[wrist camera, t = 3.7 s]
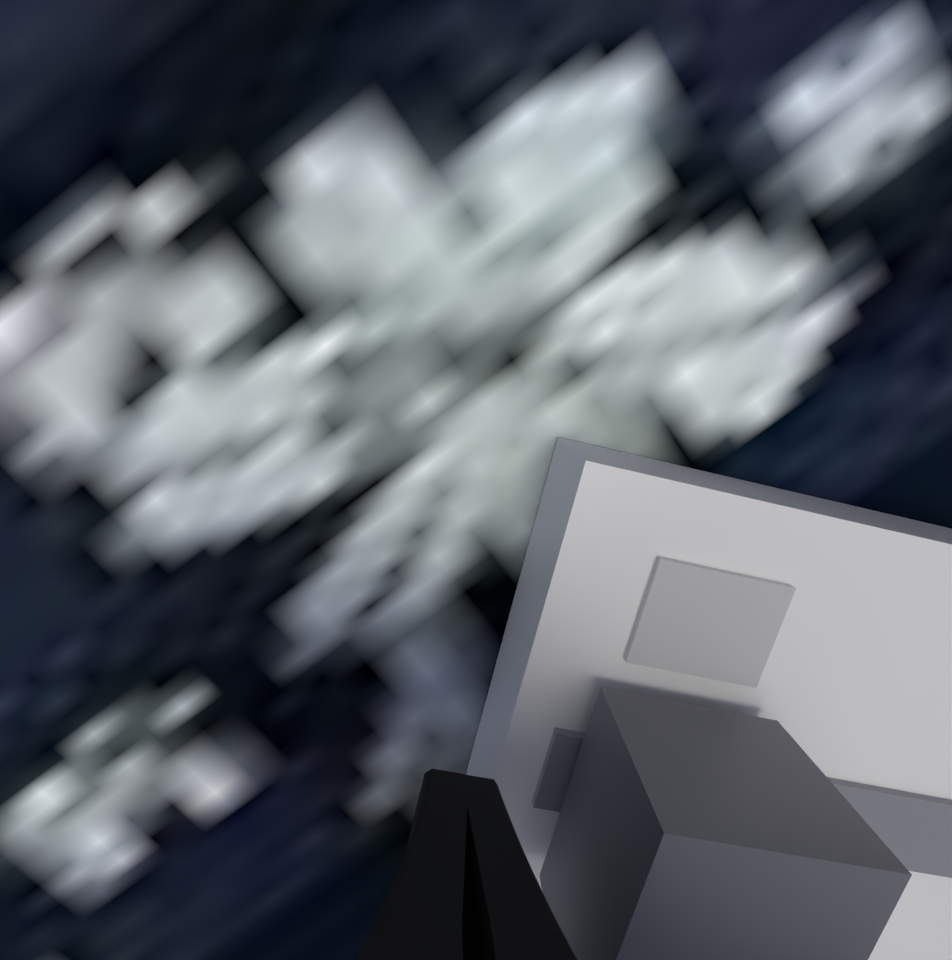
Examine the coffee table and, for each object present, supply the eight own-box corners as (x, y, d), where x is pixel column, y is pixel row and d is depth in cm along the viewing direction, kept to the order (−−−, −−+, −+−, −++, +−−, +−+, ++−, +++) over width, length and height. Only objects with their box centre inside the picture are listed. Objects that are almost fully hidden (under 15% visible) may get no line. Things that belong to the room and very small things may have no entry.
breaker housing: (438, 874, 17) (434, 996, 13) (557, 437, 13) (588, 462, 10) (905, 946, 18) (999, 1071, 15) (1109, 565, 15) (1282, 621, 12)
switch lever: (539, 875, 12) (571, 1075, 9) (600, 686, 11) (664, 833, 8) (702, 901, 13) (793, 1103, 9) (777, 720, 12) (912, 874, 8)
